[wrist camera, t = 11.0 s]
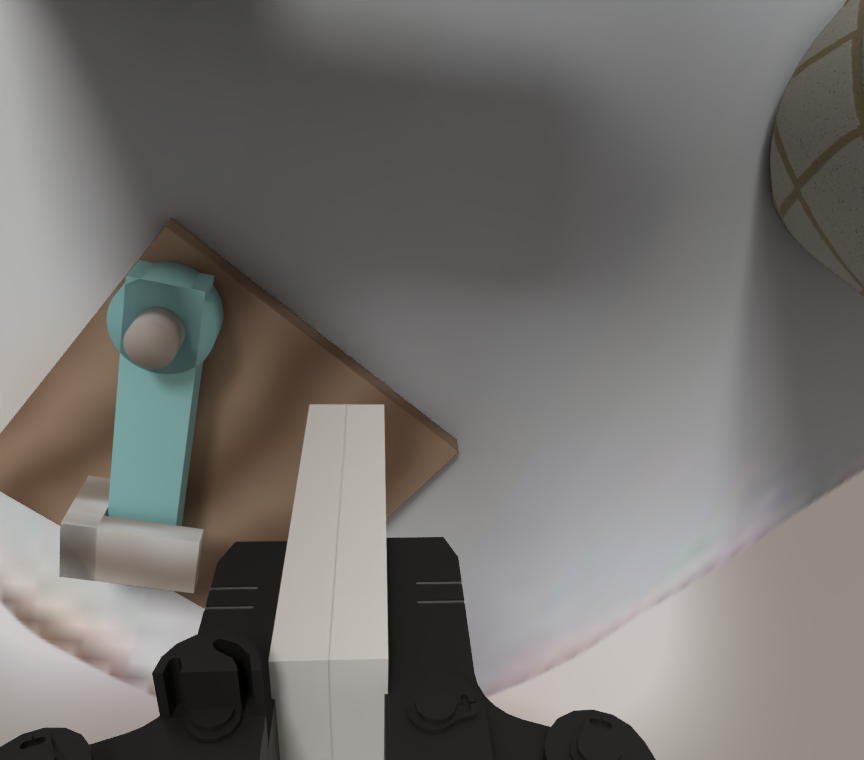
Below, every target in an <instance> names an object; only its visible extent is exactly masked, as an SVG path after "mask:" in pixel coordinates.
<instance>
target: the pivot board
mask: <svg viewBox="0 0 864 760" xmlns="http://www.w3.org/2000/svg"><path fill="white" fill-rule="evenodd" d="M139 260H141V261H146V262H151V263H156V262H176V263H180V264H184V265H187V266H189V267H192V268H193V269H195V270H197V271H199V272H200V273H204V274H209V275H214V282H213V285H214V287H215V288H216V290H217V291H218V293H219V295H220V298H221V300H222V304H223V311H224V317H223V324H222V327H221V330H220V332H219V334H218V336H217V339H216V341H215V343H214V345H213V347H212V350H211V351H210V353H209V355H208V356H207V357H206V359H205V360H204V361H203V367H202V374H201V382H200V390H199V397H198V405H197V413H196V420H195V428H194V436H193V443H192V451H191V459H190V467H189V474H188V482H187V490H186V497H185V505H184V513H183V520H182V526H176V525H169V524H162V523H155V522H148V521H140V520H133V519H126V518H119V517H111V516H108V503H109V490H110V477H111V463H112V450H113V437H114V424H115V411H116V398H117V385H118V372H119V359H120V352H119V351H118V350H117V348H116V347H115V345H114V344H113V342H112V340H111V338H110V335H109V332H108V328H107V311H108V307H109V304H110V302H111V300H112V298H113V297H114V296H115V294H116V293H117V292H118V290H119V289H120V288H121V287H122V286H123V285H124V283H125V280H126V276H125V278H124V279H123V280H122V281H121V283H120V284H119V285H118V286H117V288H116V289H115V290H114V291H113V293H112V294H111V295H110V297H109V298H108V299H107V300H106V302H105V303H104V304H103V305H102V307H101V308H100V309H99V310H98V312H97V313H96V314H95V315H94V317H93V318H92V319H91V320H90V322H89V323H88V324H87V326H86V327H85V328H84V329H83V331H82V332H81V333H80V334H79V336H78V337H77V338H76V339H75V341H74V342H73V343H72V344H71V346H70V347H69V348H68V349H67V351H66V352H65V353H64V355H63V356H62V357H61V358H60V360H59V361H58V362H57V363H56V365H55V366H54V367H53V368H52V370H51V371H50V372H49V373H48V375H47V376H46V377H45V378H44V380H43V381H42V382H41V384H40V385H39V386H38V387H37V389H36V390H35V391H34V392H33V394H32V395H31V396H30V397H29V399H28V400H27V401H26V402H25V404H24V405H23V406H22V407H21V409H20V410H19V411H18V413H17V414H16V415H15V416H14V418H13V419H12V420H11V421H10V423H9V424H8V425H7V426H6V428H5V429H4V430H3V431H2V433H1V434H0V491H1V492H2V493H4V494H6V495H8V496H9V497H11V498H13V499H15V500H16V501H18V502H20V503H22V504H23V505H25V506H27V507H29V508H30V509H32V510H34V511H36V512H37V513H39V514H41V515H42V516H44V517H46V518H48V519H49V520H51V521H53V522H55V523H56V524H58V525H60V577H68V578H76V579H84V580H92V581H100V582H108V583H115V584H123V585H131V586H139V587H147V588H155V589H163V590H171V591H175V592H176V593H178V594H180V595H182V596H183V597H185V598H187V599H189V600H190V601H192V602H194V603H196V604H197V605H199V606H201V607H203V608H204V609H206V602H207V599H208V595H209V591H211V584H212V580H213V577H214V573H215V570H216V566H217V562H218V561H219V560H220V559H221V558H222V557H223V555H224V554H225V553H226V552H227V551H228V550H229V549H230V547H231V546H232V545H233V544H234V543H235V542H246V541H288V536H289V530H290V523H291V517H292V511H293V505H294V498H295V492H296V486H297V480H298V473H299V467H300V461H301V455H302V448H303V442H304V436H305V430H306V423H307V417H308V411H309V405H310V404H384V421H385V484H386V519H387V518H388V517H389V516H390V515H391V514H392V513H393V512H394V511H396V510H397V509H398V508H399V507H400V506H401V505H402V504H403V503H404V502H405V501H406V500H407V499H408V498H410V497H411V496H412V495H413V494H414V493H415V492H416V491H417V490H418V489H419V488H420V487H421V486H423V485H424V484H425V483H426V482H427V481H428V480H429V479H430V478H431V477H432V476H433V475H434V474H435V473H437V472H438V471H439V470H440V469H441V468H442V467H443V466H444V465H445V464H446V463H447V462H448V461H449V460H451V459H452V458H453V457H454V456H455V455H456V454H457V453H458V452H459V451H458V446H457V440H456V439H455V438H454V437H452V436H451V435H450V434H449V433H447V432H446V431H445V430H443V429H442V428H441V427H440V426H438V425H437V424H436V423H434V422H433V421H432V420H430V419H429V418H428V417H427V416H425V415H424V414H423V413H421V412H420V411H419V410H418V409H416V408H415V407H414V406H412V405H411V404H410V403H409V402H407V401H406V400H405V399H403V398H402V397H401V396H400V395H398V394H397V393H396V392H394V391H393V390H392V389H391V388H389V387H388V386H387V385H385V384H384V383H383V382H382V381H380V380H379V379H378V378H376V377H375V376H374V375H373V374H371V373H370V372H369V371H367V370H366V369H365V368H364V367H362V366H361V365H360V364H358V363H357V362H356V361H355V360H353V359H352V358H351V357H349V356H348V355H347V354H345V353H344V352H343V351H342V350H340V349H339V348H338V347H336V346H335V345H334V344H333V343H331V342H330V341H329V340H327V339H326V338H325V337H324V336H322V335H321V334H320V333H318V332H317V331H316V330H315V329H313V328H312V327H311V326H309V325H308V324H307V323H306V322H304V321H303V320H302V319H300V318H299V317H298V316H297V315H295V314H294V313H293V312H291V311H290V310H289V309H288V308H286V307H285V306H284V305H282V304H281V303H280V302H279V301H277V300H276V299H275V298H273V297H272V296H271V295H270V294H268V293H267V292H266V291H264V290H263V289H262V288H261V287H259V286H258V285H257V284H255V283H254V282H253V281H251V280H250V279H249V278H248V277H246V276H245V275H244V274H242V273H241V272H240V271H239V270H237V269H236V268H235V267H233V266H232V265H231V264H230V263H228V262H227V261H226V260H224V259H223V258H222V257H221V256H219V255H218V254H217V253H215V252H214V251H213V250H212V249H210V248H209V247H208V246H206V245H205V244H204V243H203V242H201V241H200V240H199V239H197V238H196V237H195V236H194V235H192V234H191V233H190V232H188V231H187V230H186V229H185V228H183V227H182V226H181V225H179V224H178V223H177V222H176V221H174V220H173V219H171V220H170V221H169V223H168V224H167V225H166V226H165V227H164V228H163V230H162V231H161V232H160V234H159V235H158V236H157V237H156V239H155V240H154V241H153V242H152V244H151V245H150V246H149V247H148V249H147V250H146V251H145V252H144V254H143V255H142V256H141V257H140V259H139ZM139 260H138V261H139ZM138 261H137V262H138ZM134 266H135V265H134ZM134 266H133V267H134ZM184 338H185V326H184V324H183V322H182V320H181V318H180V317H179V316H178V315H177V314H176V313H174V312H173V311H171V310H169V309H167V308H164V307H150V308H147V309H145V310H143V311H142V312H141V313H140V314H139V315H138V316H137V318H136V319H135V320H134V322H133V323H132V324H131V326H130V327H129V329H128V330H127V331H126V333H125V335H124V340H123V344H124V349H125V351H126V353H127V355H128V356H129V357H130V359H131V360H132V361H134V362H135V363H136V364H138V365H140V366H142V367H146V368H152V369H156V368H161V367H164V366H166V365H168V364H169V363H170V362H171V361H172V360H173V359H174V357H175V355H176V353H177V352H178V350H179V348H180V346H181V344H182V342H183V340H184Z"/></svg>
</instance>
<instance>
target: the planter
mask: <svg viewBox="0 0 864 760" xmlns="http://www.w3.org/2000/svg"><path fill="white" fill-rule="evenodd" d="M770 169H771V183H772V192H773V205H774V208H775V210H776V212H777V214H778V216H779V218H780V219H781V221H782V223H783V224H784V226H785V227H786V228H787V230H788V231H789V232H790V234H791V235H792V236H793V237H794V238H795V239H796V240H797V241H798V242H799V243H800V245H801V246H802V247H803V248H804V249H805V250H806V251H807V252H808V253H810V254H811V255H812V256H813V257H814V258H815V259H817V260H818V261H819V262H820V263H822V264H823V265H824V266H826V267H827V268H828V269H830V270H831V271H832V272H833V273H835V274H836V275H837V276H839V277H840V278H841V279H843V280H844V281H845V282H846V283H848V284H849V285H850V286H851V287H853V288H854V289H855V290H857V291H858V292H859V293H860V294H862V295H863V296H864V0H847V1H846V2H845V4H844V6H843V7H842V8H841V10H840V11H839V12H838V13H837V14H836V15H835V17H834V18H833V19H832V20H831V21H830V22H829V24H828V25H827V26H826V27H825V28H824V30H823V31H822V32H821V33H820V35H819V36H818V37H817V38H816V40H815V41H814V42H813V44H812V45H811V46H810V48H809V49H808V50H807V52H806V54H805V55H804V57H803V58H802V60H801V61H800V63H799V65H798V67H797V68H796V70H795V72H794V74H793V76H792V78H791V80H790V82H789V84H788V86H787V88H786V91H785V93H784V96H783V98H782V101H781V104H780V107H779V110H778V113H777V117H776V121H775V125H774V129H773V135H772V141H771V152H770Z"/></svg>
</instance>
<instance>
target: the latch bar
mask: <svg viewBox="0 0 864 760" xmlns="http://www.w3.org/2000/svg"><path fill="white" fill-rule="evenodd" d="M213 282H214V275H209V274H204V273H200V272H199V271H197V270H195V269H193V268H192V267H189V266H187V265H184V264H180V263H176V262H156V263H151V262H146V261H141V260H139V261H138V262H137V263H136V264H135V266H134V267H133V268H132V269H131V270H130V271H129V273H128V274H127V275H126V280H125V283H124V285H123V286H122V287H121V288H120V289H119V290H118V292H117V293H116V294H115V296H114V297H113V298H112V300H111V302H110V304H109V307H108V311H107V328H108V332H109V335H110V338H111V340H112V342H113V344H114V345H115V347H116V348H117V350H118V351H119V352H120V359H119V372H118V385H117V398H116V411H115V424H114V437H113V450H112V463H111V477H110V490H109V503H108V516H111V517H119V518H126V519H133V520H140V521H148V522H155V523H162V524H169V525H176V526H182V520H183V513H184V505H185V497H186V490H187V482H188V474H189V467H190V459H191V451H192V443H193V436H194V428H195V420H196V413H197V405H198V397H199V390H200V382H201V374H202V367H203V361H204V360H205V359H206V357H207V356H208V355H209V353H210V351H211V350H212V347H213V345H214V343H215V341H216V339H217V336H218V334H219V332H220V330H221V327H222V324H223V317H224V311H223V304H222V300H221V298H220V295H219V293H218V291H217V290H216V288H215V287H214V285H213ZM150 307H164V308H167V309H169V310H171V311H173V312H174V313H176V314H177V315H178V316H179V317H180V318H181V320H182V322H183V324H184V326H185V338H184V340H183V342H182V344H181V346H180V348H179V350H178V352H177V353H176V355H175V357H174V359H173V360H172V361H171V362H170V363H169V364H168V365H166V366H164V367H161V368H156V369H152V368H146V367H142V366H140V365H138V364H136V363H135V362H134V361H132V360H131V359H130V357H129V356H128V355H127V353H126V351H125V349H124V344H123V340H124V335H125V333H126V331H127V330H128V329H129V327H130V326H131V324H132V323H133V322H134V320H135V319H136V318H137V316H138V315H139V314H140V313H141V312H142V311H143V310H145V309H147V308H150Z"/></svg>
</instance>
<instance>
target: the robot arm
mask: <svg viewBox="0 0 864 760" xmlns="http://www.w3.org/2000/svg"><path fill="white" fill-rule="evenodd" d="M152 675H153V680H154V685H155V691H156V696H157V702H158V707H159V712H160V716H159V717H158V718H157V719H155V720H153V721H152V722H150V723H148V724H147V725H145V726H143V727H141V728H139V729H136V730H134V731H131V732H129V733H126V734H123V735H120V736H117V737H113V738H110V739H107V740H103V741H100V742H97V743H94V744H90V745H89V744H88V743H87V741H86V740H85V739H84V737H83V736H82V735H81V734H79V733H76V732H74V731H72V730H69V729H67V728H42V729H39V730H35V731H32V732H28V733H25V734H22V735H20V736H18V737H17V738H15V739H13V740H12V741H10V742H8V743H6V744H5V745H3V746H1V747H0V760H655V758H654V756H653V755H652V753H651V751H650V750H649V748H648V747H647V745H646V743H645V742H644V741H643V740H642V738H641V737H640V736H639V735H638V734H637V733H636V732H635V730H634V729H633V728H632V727H631V726H630V725H628V724H626V723H625V722H623V721H622V720H620V719H618V718H617V717H615V716H614V715H611V714H607V713H603V712H599V711H595V710H581V711H573V712H570V713H568V714H566V715H564V716H562V717H560V718H558V719H557V720H556V721H555V723H554V724H553V725H552V727H548V726H544V725H541V724H537V723H533V722H529V721H526V720H522V719H520V718H517V717H514V716H512V715H509V714H507V713H505V712H504V711H502V710H501V709H499V708H498V707H496V706H495V705H493V703H491V702H490V701H489V700H488V699H487V698H486V697H485V696H484V694H483V692H482V691H481V689H480V687H479V686H478V684H477V681H476V677H475V674H474V668H473V661H472V653H471V646H470V639H469V632H468V625H467V618H466V610H465V604H464V596H463V589H462V585H461V575H460V567H459V560H458V556H457V555H456V554H455V552H454V551H453V550H452V548H451V547H450V546H449V544H448V543H447V542H446V540H445V539H444V538H443V537H421V538H386V484H385V421H384V404H310V405H309V411H308V417H307V423H306V430H305V436H304V442H303V448H302V455H301V461H300V467H299V473H298V480H297V486H296V492H295V498H294V505H293V511H292V517H291V523H290V530H289V536H288V541H246V542H235V543H234V544H233V545H232V546H231V547H230V549H229V550H228V551H227V552H226V553H225V554H224V555H223V557H222V558H221V559H220V560H219V561H218V562H217V566H216V570H215V573H214V577H213V580H212V584H211V591H209V595H208V599H207V602H206V609H205V611H204V613H203V617H202V620H201V624H200V628H199V631H198V635H195V636H193V637H191V638H189V639H186V640H184V641H182V642H180V643H178V644H176V645H175V646H174V647H173V648H172V649H170V650H169V651H168V652H167V653H166V654H165V655H163V656H162V657H161V659H160V661H159V662H158V664H157V666H156V668H155V669H154V671H153V673H152Z"/></svg>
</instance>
